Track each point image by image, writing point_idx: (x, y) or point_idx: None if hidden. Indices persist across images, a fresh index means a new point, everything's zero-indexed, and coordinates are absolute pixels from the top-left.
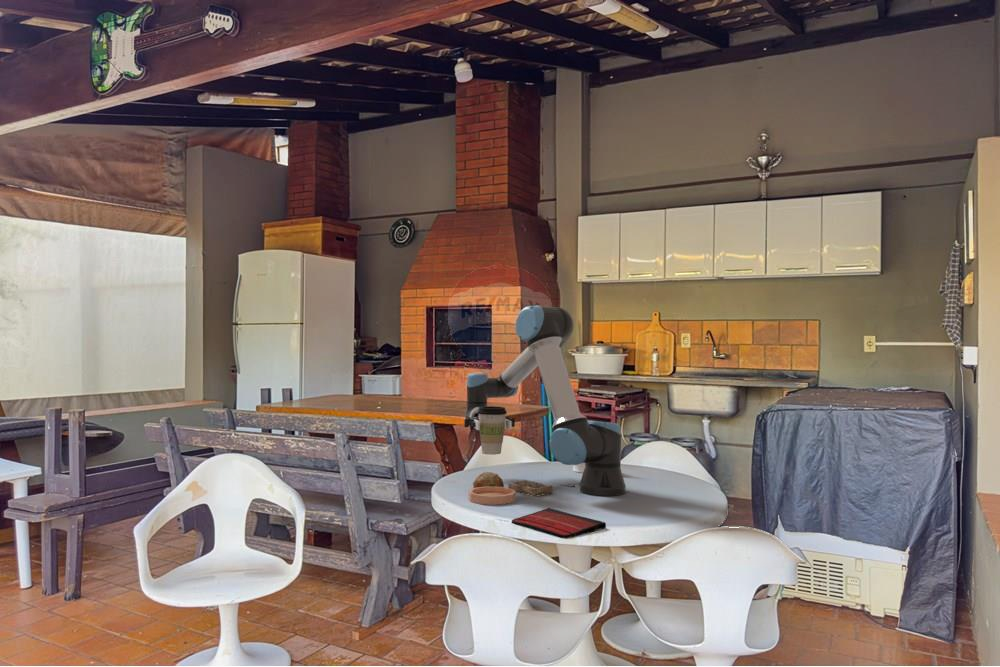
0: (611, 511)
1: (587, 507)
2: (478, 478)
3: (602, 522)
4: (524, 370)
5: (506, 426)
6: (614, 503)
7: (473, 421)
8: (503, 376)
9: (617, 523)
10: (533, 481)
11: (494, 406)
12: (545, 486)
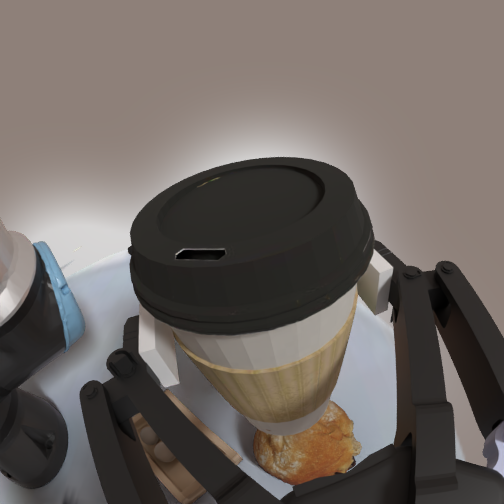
0: (85, 315)
1: (105, 330)
2: (335, 408)
3: (130, 247)
4: None
5: (170, 337)
6: (57, 357)
7: (394, 277)
8: None
9: (108, 271)
10: (158, 449)
11: (211, 260)
12: (136, 419)
